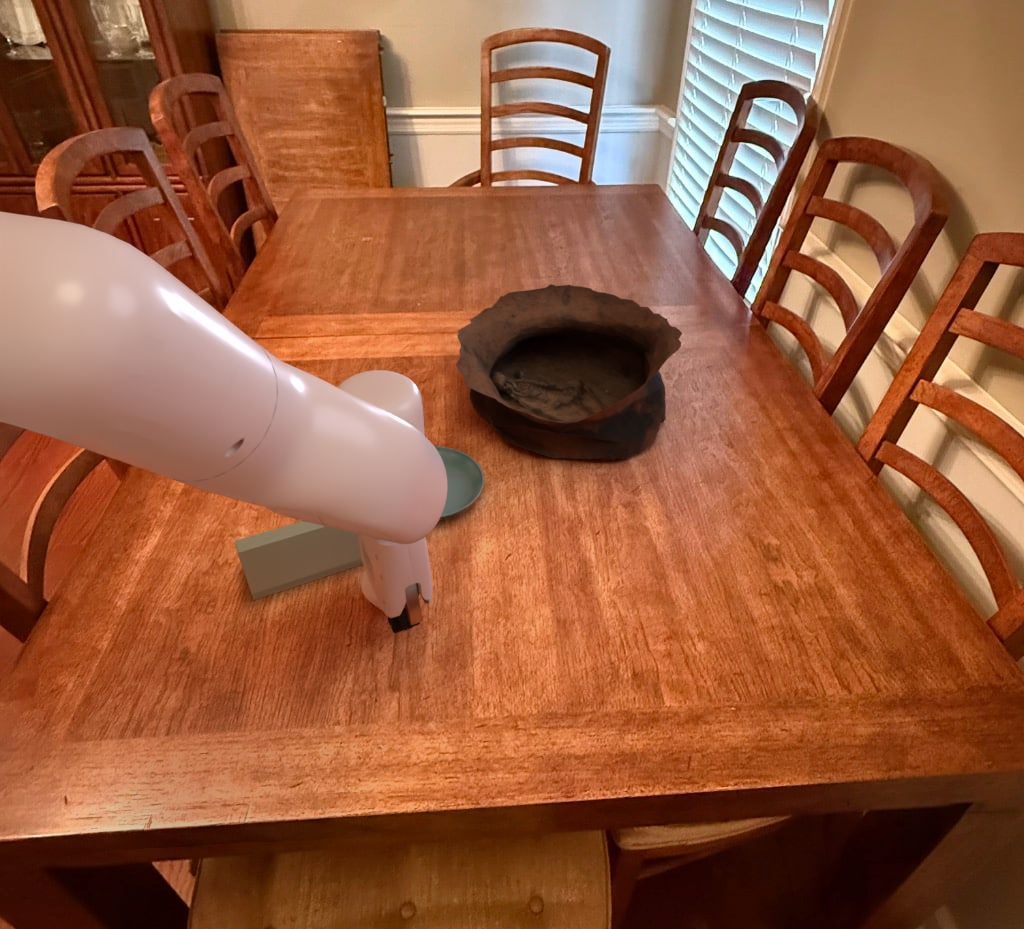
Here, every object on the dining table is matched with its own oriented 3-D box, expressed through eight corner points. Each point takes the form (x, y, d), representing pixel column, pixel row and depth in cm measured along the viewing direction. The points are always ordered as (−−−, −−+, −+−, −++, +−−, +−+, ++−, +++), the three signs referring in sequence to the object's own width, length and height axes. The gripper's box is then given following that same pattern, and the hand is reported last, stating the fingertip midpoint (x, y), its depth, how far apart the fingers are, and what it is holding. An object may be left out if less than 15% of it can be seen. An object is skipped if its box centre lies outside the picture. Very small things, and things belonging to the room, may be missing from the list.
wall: (253, 600, 80) (237, 552, 75) (245, 571, 83) (229, 523, 78) (402, 551, 86) (396, 504, 81) (389, 526, 90) (383, 479, 85)
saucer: (396, 453, 101) (394, 439, 99) (494, 468, 99) (494, 453, 97) (359, 522, 90) (356, 507, 88) (469, 540, 88) (469, 525, 86)
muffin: (392, 572, 84) (387, 531, 79) (428, 598, 81) (425, 557, 76) (352, 603, 80) (344, 562, 75) (388, 632, 77) (382, 590, 72)
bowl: (663, 500, 97) (675, 418, 86) (436, 473, 103) (422, 393, 93) (676, 358, 121) (686, 280, 110) (491, 343, 127) (484, 268, 117)
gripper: (328, 463, 68) (352, 587, 79) (373, 567, 57) (393, 691, 69) (401, 443, 70) (414, 566, 82) (457, 539, 60) (462, 664, 72)
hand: (404, 623), depth 76 cm, fingers closed
